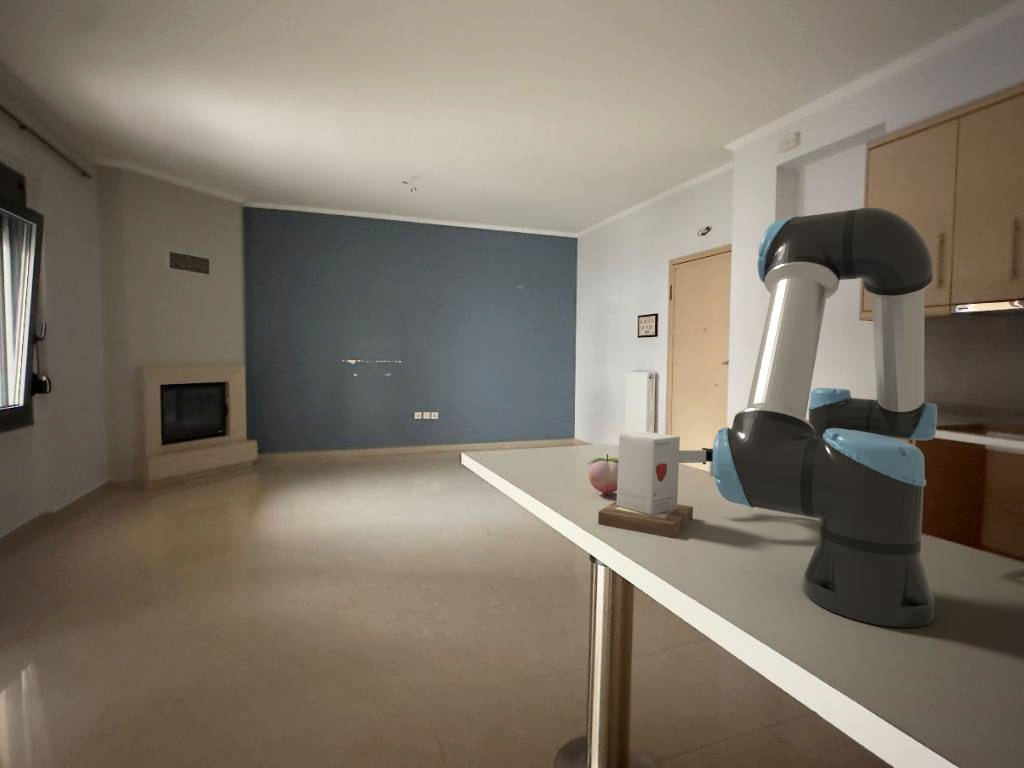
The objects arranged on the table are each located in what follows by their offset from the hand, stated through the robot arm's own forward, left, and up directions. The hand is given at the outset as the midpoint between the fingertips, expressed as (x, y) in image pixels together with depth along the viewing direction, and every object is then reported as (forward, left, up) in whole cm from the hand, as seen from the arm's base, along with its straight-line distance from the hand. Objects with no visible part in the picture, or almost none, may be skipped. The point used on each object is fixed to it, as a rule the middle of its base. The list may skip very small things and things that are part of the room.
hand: (692, 462), depth 113 cm
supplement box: (-6, +7, -9) cm, 13 cm away
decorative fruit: (+10, +22, -12) cm, 27 cm away
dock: (-6, +7, -12) cm, 15 cm away
